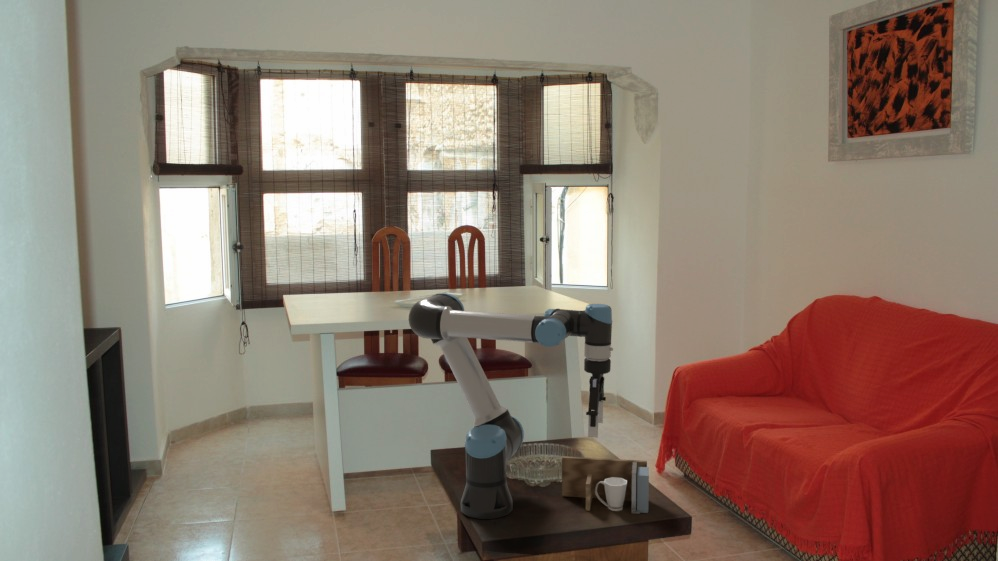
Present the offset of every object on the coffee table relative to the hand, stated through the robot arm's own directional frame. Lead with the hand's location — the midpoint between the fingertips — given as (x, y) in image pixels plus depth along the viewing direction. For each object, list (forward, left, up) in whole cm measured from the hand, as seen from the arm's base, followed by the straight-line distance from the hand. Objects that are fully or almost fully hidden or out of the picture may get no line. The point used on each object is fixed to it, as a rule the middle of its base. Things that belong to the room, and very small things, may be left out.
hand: (595, 429), depth 240 cm
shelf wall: (+2, +4, -22) cm, 23 cm away
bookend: (+11, -1, -22) cm, 25 cm away
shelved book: (+14, -1, -22) cm, 26 cm away
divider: (-2, -2, -22) cm, 22 cm away
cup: (+5, -2, -23) cm, 23 cm away
